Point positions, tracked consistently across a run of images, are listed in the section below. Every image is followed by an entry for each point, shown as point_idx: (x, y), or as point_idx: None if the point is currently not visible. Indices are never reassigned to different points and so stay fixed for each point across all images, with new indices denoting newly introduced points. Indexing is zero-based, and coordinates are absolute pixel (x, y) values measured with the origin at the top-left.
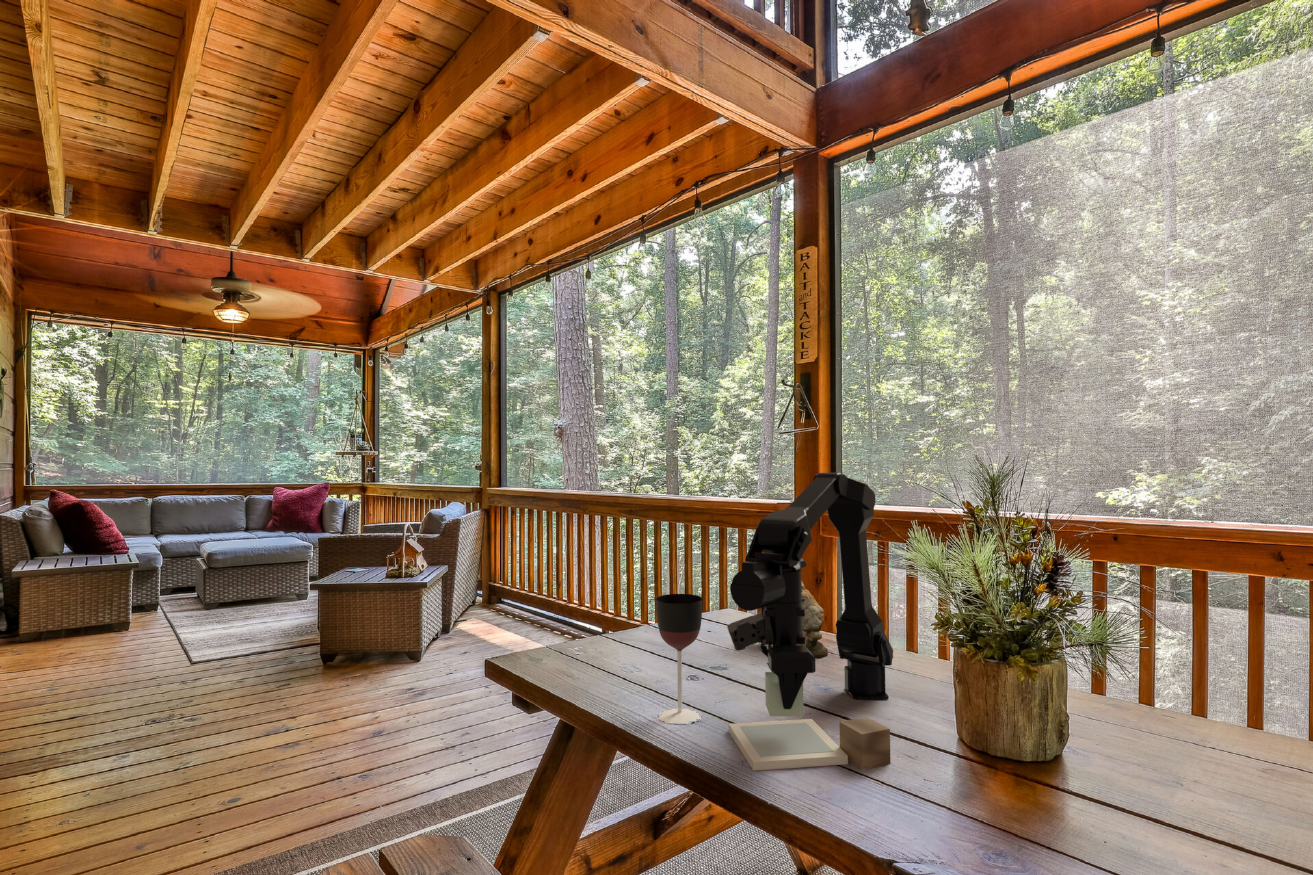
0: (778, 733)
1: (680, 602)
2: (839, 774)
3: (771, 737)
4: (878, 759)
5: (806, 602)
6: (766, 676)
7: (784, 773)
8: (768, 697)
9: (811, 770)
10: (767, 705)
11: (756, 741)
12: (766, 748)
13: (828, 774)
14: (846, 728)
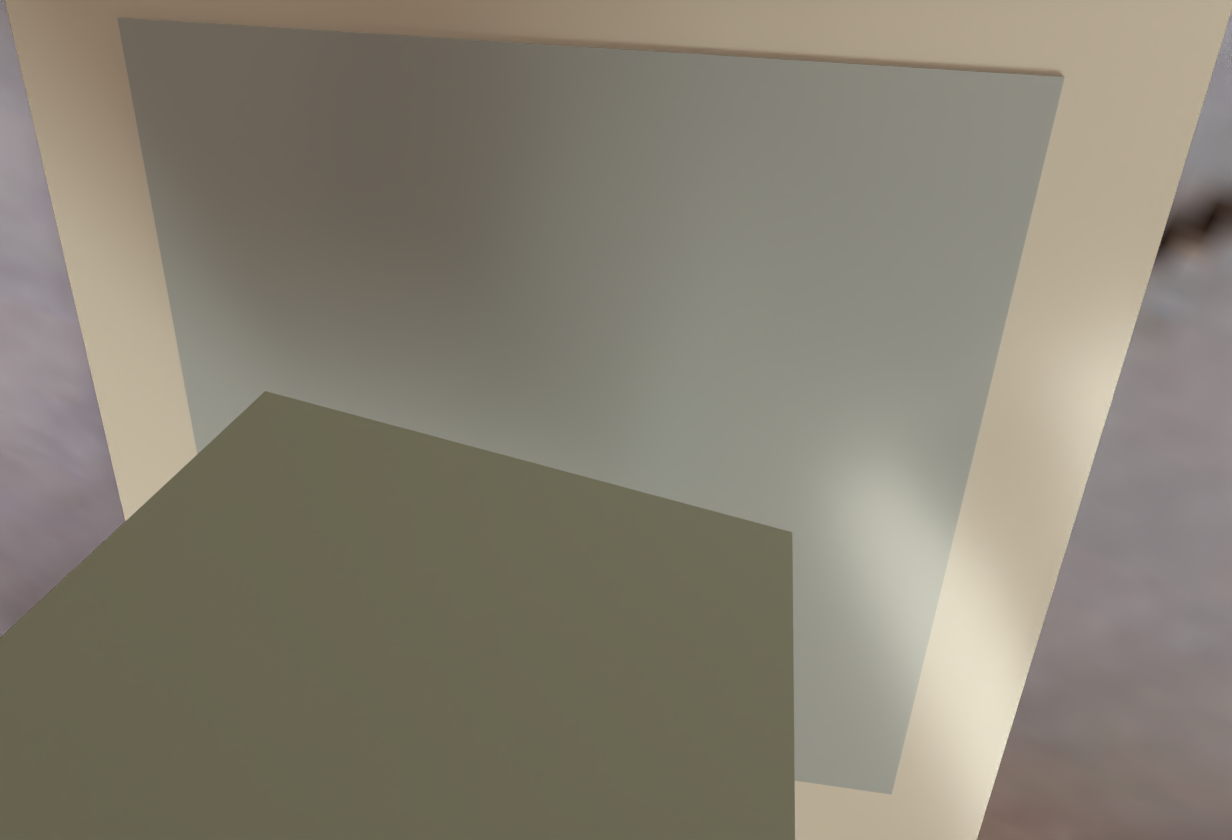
0: (695, 454)
1: None
2: (53, 581)
3: (605, 341)
4: None
5: None
6: None
7: (27, 187)
8: (299, 580)
9: (103, 430)
10: (537, 505)
11: (518, 124)
12: (323, 171)
13: (46, 514)
14: None
